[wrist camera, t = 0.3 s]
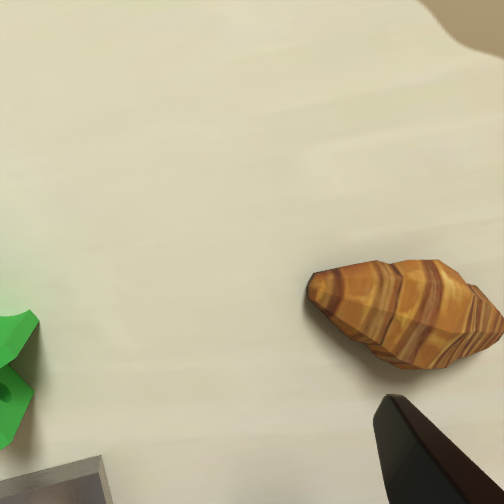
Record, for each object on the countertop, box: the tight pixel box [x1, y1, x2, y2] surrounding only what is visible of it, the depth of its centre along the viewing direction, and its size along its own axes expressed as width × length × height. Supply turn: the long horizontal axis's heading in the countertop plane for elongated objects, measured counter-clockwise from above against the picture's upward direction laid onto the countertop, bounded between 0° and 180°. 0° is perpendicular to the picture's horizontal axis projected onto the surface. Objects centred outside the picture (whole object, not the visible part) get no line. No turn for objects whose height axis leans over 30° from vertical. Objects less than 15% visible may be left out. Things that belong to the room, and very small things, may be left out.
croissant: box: [307, 260, 504, 369], centre depth 25 cm, size 14×7×5 cm, turn 74°
